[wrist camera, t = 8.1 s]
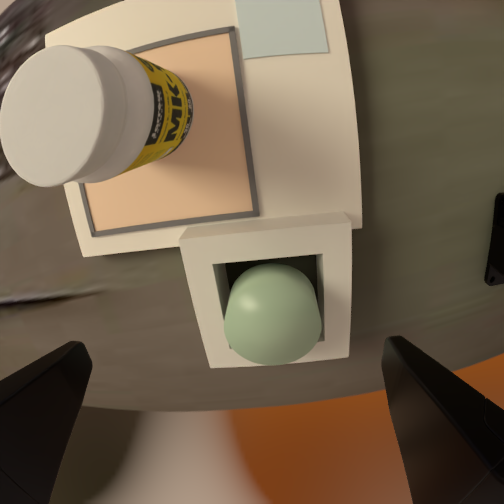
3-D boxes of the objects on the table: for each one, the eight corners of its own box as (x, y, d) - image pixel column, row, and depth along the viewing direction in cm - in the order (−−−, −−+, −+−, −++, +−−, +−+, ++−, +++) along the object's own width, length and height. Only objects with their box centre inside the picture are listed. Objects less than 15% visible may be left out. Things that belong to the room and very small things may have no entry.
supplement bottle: (208, 143, 15) (143, 170, 7) (123, 172, 16) (16, 224, 8) (181, 53, 13) (97, 0, 5) (98, 89, 14) (-21, 85, 6)
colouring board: (327, -24, 12) (332, -34, 11) (356, 221, 17) (363, 229, 16) (56, 37, 13) (43, 34, 12) (92, 249, 19) (81, 258, 17)
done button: (313, 258, 15) (320, 282, 13) (316, 332, 17) (321, 360, 15) (223, 267, 16) (215, 291, 14) (236, 338, 18) (232, 367, 15)
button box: (338, 205, 17) (351, 222, 14) (339, 326, 20) (348, 357, 17) (192, 220, 18) (178, 239, 15) (217, 337, 21) (210, 367, 18)
